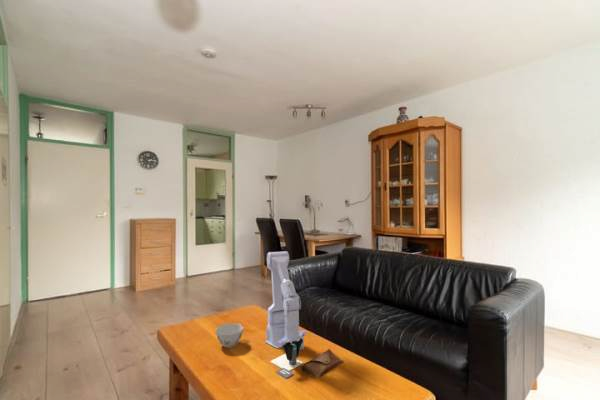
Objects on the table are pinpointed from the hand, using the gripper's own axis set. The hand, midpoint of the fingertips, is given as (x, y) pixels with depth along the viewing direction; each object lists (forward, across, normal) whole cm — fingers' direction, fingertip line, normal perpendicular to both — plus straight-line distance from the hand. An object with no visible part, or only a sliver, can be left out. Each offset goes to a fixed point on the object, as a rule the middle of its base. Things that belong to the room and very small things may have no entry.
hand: (292, 358), depth 124 cm
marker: (+2, 0, 0) cm, 2 cm away
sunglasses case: (+3, +8, -10) cm, 13 cm away
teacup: (+3, -8, +34) cm, 35 cm away
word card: (+2, -7, -3) cm, 8 cm away
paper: (+2, -1, +2) cm, 4 cm away
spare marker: (+2, +12, +7) cm, 14 cm away
